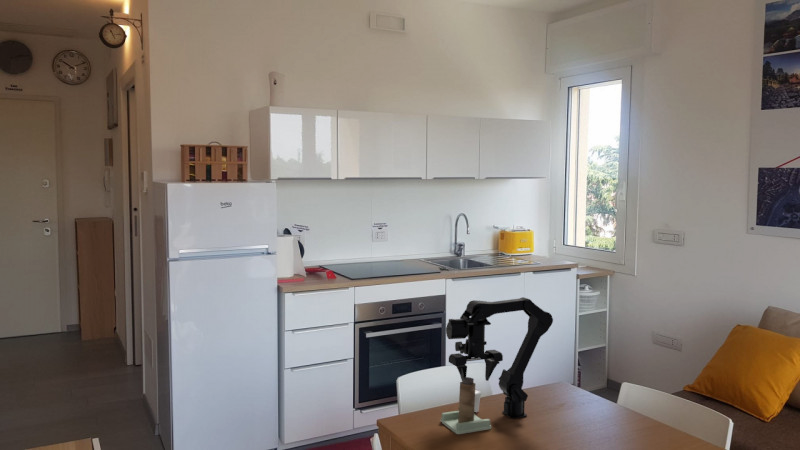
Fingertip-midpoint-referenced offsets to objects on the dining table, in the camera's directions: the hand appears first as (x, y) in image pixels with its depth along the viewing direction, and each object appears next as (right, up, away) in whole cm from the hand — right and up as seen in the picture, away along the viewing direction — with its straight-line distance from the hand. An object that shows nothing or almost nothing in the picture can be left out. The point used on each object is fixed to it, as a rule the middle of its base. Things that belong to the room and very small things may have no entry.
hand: (475, 382), depth 213 cm
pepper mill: (-4, -12, -5) cm, 14 cm away
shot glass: (-1, -13, +9) cm, 16 cm away
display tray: (-4, -13, -5) cm, 15 cm away
